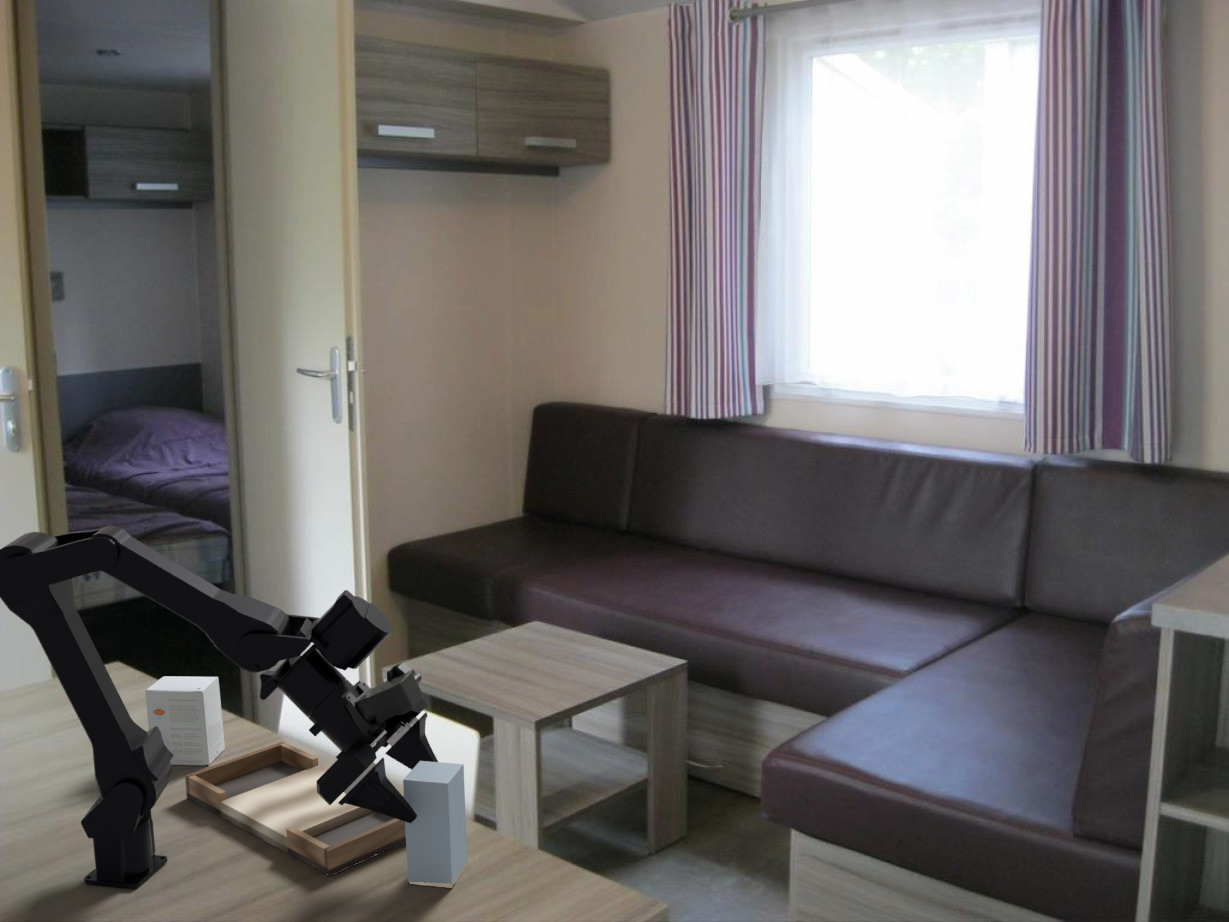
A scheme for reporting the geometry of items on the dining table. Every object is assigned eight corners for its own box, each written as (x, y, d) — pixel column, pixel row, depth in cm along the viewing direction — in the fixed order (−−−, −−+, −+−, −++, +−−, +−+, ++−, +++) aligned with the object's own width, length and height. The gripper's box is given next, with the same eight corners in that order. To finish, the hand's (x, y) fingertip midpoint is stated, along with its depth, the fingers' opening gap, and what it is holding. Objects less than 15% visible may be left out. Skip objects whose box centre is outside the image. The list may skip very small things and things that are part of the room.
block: (452, 889, 139) (447, 783, 137) (408, 884, 140) (403, 779, 138) (467, 866, 144) (463, 764, 141) (424, 862, 145) (420, 760, 143)
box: (429, 831, 152) (428, 807, 151) (329, 876, 142) (328, 851, 141) (283, 763, 172) (282, 741, 171) (186, 798, 162) (185, 775, 161)
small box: (225, 749, 177) (220, 676, 175) (209, 766, 171) (203, 690, 169) (169, 748, 177) (163, 674, 176) (150, 765, 172) (144, 689, 170)
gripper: (337, 680, 130) (448, 792, 129) (405, 623, 148) (503, 721, 147) (270, 750, 133) (378, 859, 132) (345, 686, 151) (441, 782, 150)
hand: (429, 800), depth 141 cm, fingers open, 9 cm apart
